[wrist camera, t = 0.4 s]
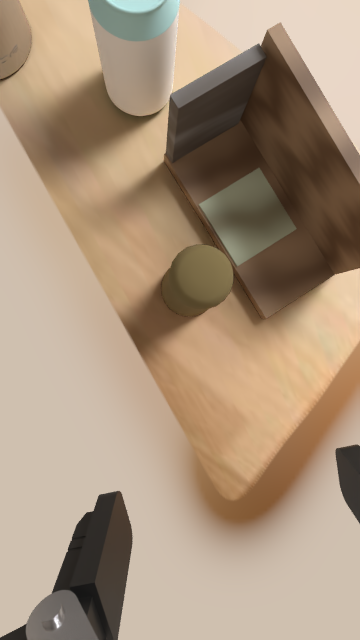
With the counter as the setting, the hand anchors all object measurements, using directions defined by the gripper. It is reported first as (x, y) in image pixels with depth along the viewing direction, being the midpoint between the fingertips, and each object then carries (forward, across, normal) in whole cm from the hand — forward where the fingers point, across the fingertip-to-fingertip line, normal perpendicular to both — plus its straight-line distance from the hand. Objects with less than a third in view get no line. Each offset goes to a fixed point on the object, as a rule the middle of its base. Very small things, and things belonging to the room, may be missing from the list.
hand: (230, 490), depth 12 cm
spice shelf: (+28, -9, -10) cm, 31 cm away
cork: (+26, 0, -4) cm, 26 cm away
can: (+30, 0, -26) cm, 40 cm away
